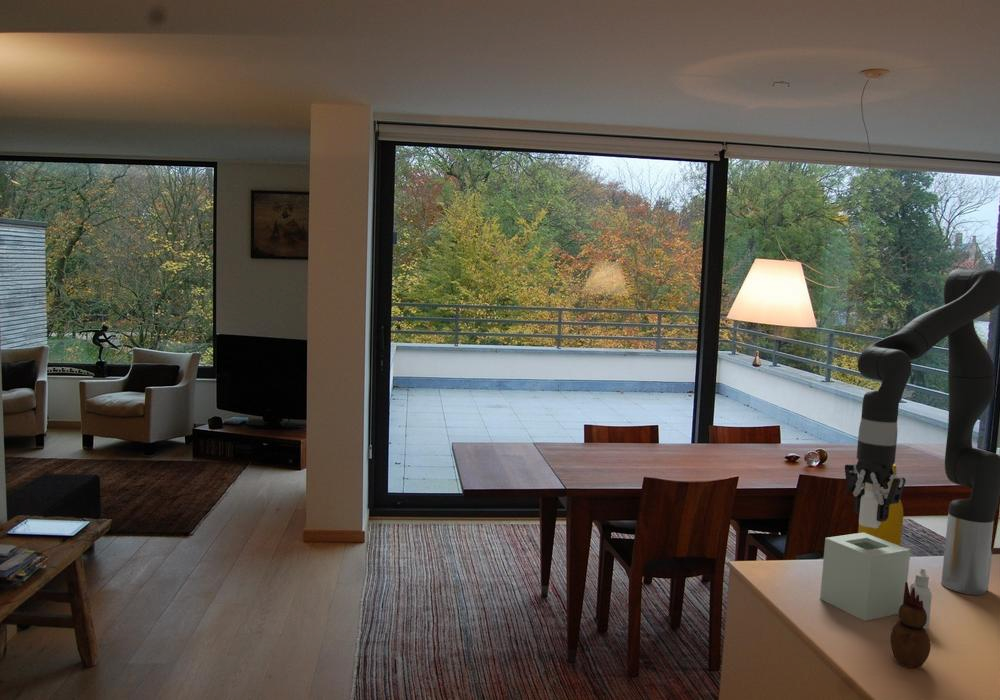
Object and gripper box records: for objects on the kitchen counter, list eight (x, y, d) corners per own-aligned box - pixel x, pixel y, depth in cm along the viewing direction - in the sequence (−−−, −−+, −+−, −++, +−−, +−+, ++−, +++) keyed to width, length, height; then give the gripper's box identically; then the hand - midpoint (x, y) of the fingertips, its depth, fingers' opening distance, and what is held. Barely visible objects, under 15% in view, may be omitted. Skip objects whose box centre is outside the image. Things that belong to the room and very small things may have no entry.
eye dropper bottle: (930, 622, 167) (936, 567, 166) (927, 631, 163) (933, 575, 162) (907, 616, 170) (913, 562, 169) (903, 625, 165) (909, 570, 164)
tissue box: (858, 591, 183) (863, 532, 181) (904, 612, 172) (910, 549, 171) (820, 598, 178) (825, 537, 176) (865, 620, 167) (871, 556, 165)
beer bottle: (846, 582, 188) (857, 462, 185) (863, 573, 195) (874, 457, 192) (886, 595, 182) (898, 470, 179) (903, 585, 188) (914, 465, 185)
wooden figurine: (882, 654, 152) (890, 578, 150) (911, 654, 152) (919, 579, 151) (903, 672, 145) (911, 593, 144) (933, 672, 146) (941, 593, 144)
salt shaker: (880, 525, 174) (884, 482, 173) (878, 529, 170) (882, 486, 169) (860, 521, 176) (864, 479, 175) (858, 525, 172) (861, 482, 171)
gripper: (919, 446, 166) (911, 525, 168) (861, 432, 179) (855, 506, 181) (894, 448, 163) (886, 529, 165) (837, 434, 176) (831, 509, 178)
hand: (870, 516), depth 173 cm, fingers closed on salt shaker, 5 cm apart
